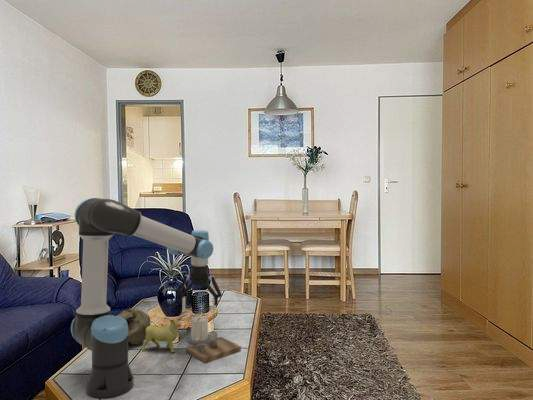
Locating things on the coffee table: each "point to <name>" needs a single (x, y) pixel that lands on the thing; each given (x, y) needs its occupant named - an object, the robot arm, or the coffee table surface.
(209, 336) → the coaster
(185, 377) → the coffee table surface
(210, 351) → the lock base
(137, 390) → the coffee table surface
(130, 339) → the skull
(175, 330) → the toy
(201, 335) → the grey rounded block
